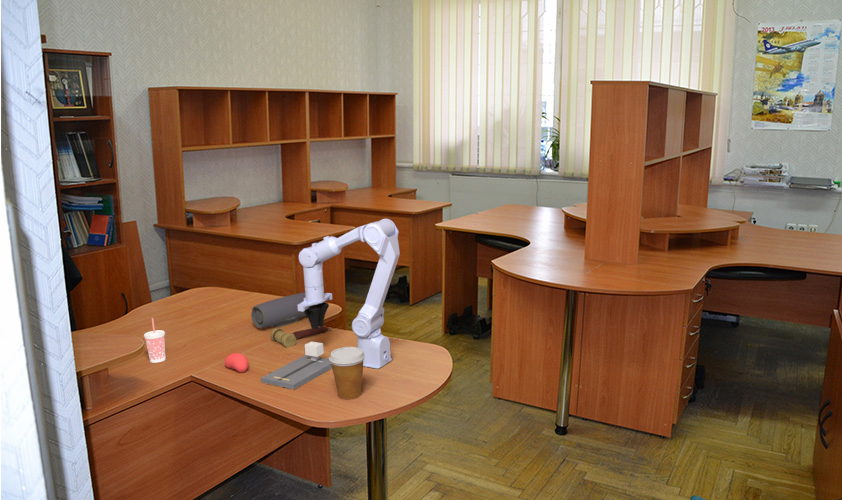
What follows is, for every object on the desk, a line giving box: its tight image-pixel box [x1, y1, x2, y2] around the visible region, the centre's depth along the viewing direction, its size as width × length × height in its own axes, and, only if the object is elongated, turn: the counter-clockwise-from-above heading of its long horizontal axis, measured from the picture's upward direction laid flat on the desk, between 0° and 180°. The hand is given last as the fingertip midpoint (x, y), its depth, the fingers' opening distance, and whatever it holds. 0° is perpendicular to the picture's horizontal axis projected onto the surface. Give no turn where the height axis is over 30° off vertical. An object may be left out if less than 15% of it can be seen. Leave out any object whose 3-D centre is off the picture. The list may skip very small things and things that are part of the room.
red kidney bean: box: [223, 352, 250, 373], centre depth 195 cm, size 5×9×6 cm
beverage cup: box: [143, 317, 166, 364], centre depth 204 cm, size 6×6×14 cm
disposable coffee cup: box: [328, 346, 365, 400], centre depth 173 cm, size 10×10×12 cm
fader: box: [304, 341, 324, 361], centre depth 195 cm, size 4×3×5 cm
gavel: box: [269, 325, 332, 348], centre depth 221 cm, size 21×5×10 cm
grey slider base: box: [260, 354, 332, 390], centre depth 189 cm, size 12×20×2 cm, turn 151°
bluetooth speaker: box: [250, 292, 307, 329], centre depth 237 cm, size 23×9×10 cm, turn 136°
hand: (317, 327), depth 202 cm, fingers closed
